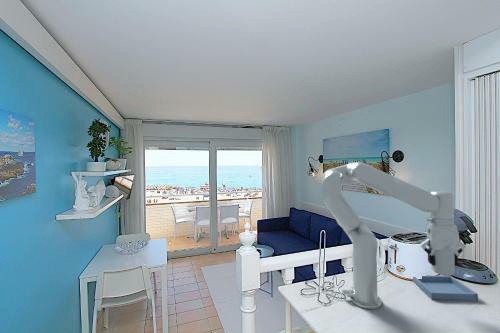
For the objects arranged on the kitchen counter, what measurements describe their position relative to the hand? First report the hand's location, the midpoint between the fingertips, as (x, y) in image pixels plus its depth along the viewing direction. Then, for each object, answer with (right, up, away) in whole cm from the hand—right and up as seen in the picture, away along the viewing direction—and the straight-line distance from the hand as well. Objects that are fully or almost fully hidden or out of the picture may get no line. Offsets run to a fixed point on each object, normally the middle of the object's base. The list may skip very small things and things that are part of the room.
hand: (442, 264), depth 98 cm
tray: (+10, -17, +12) cm, 23 cm away
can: (0, -4, 0) cm, 4 cm away
